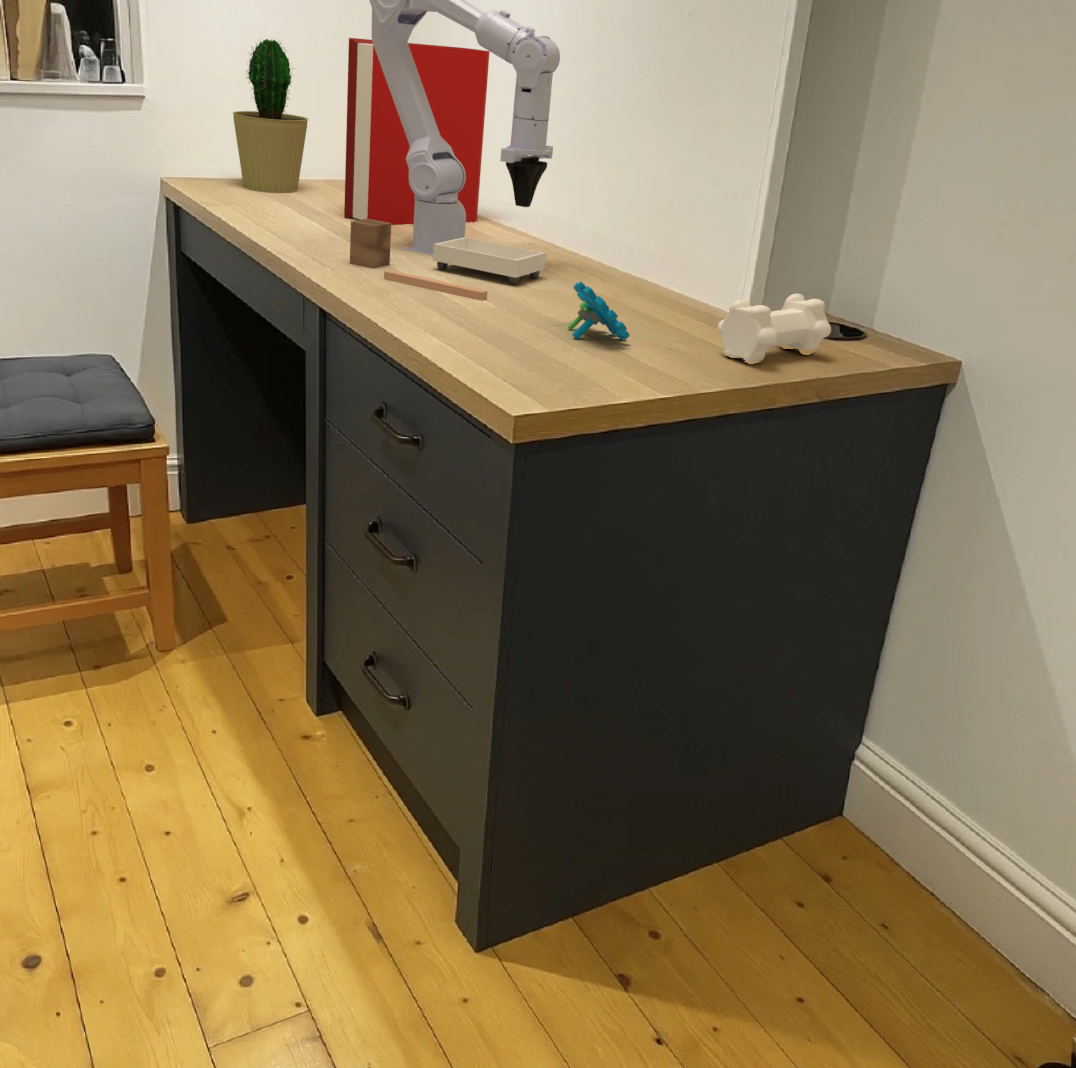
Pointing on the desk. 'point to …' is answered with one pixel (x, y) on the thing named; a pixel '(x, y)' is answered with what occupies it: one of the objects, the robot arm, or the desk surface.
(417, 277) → the thin flat board
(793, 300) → the white bone
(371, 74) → the book
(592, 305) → the gear
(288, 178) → the potted cactus
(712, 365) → the desk surface
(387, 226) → the walnut block
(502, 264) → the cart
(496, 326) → the desk surface
